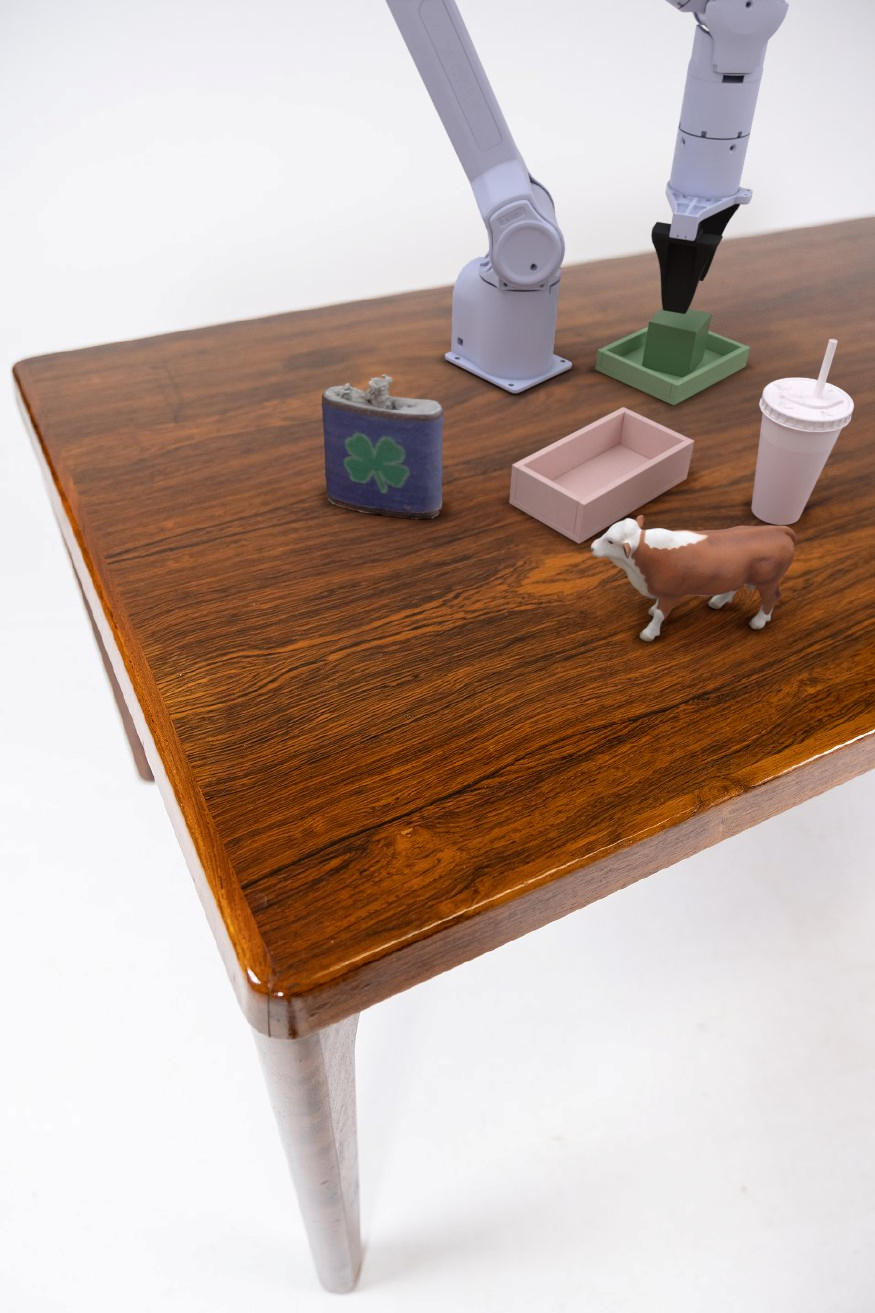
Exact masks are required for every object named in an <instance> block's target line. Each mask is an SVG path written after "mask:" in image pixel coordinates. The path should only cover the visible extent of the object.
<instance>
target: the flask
mask: <svg viewBox="0 0 875 1313" xmlns="http://www.w3.org/2000/svg"><path fill="white" fill-rule="evenodd" d="M393 382H394V379H393V377H392V376H389V375H387V374H386V373H385V374H384V373H383V374H381V377H371V378H370V380H369V381H368V386H369V388H367V389H366V390H362V389H359V388H357V387H355V386H354V387H353V386H351V383H350V382H346V383H345V384H344V385H331V386H329V387H327V388H325V389H324V391H323V392H322V395H321V410H322V411H321V413H322V414H321V415H322V426H323V428H322V429H323V430H322V431H323V446H324V448H323V449H324V476H325V485H326V494H327V501H328V502H330V503H331V504H332V505H336V506H338V507H341V508H346V509H349V510H352V511H358V512H360V513H365V514H372V515H377V514H378V515H383V516H388V517H395V518H404V519H405V518H406V519H414V520H421V519H429V520H430V519H434V518H435V517H437V516H439V514H440V512H441V510H442V507H443V448H444V447H443V427H444V426H443V425H444V418H445V413H444V409H443V406H442V405H441V404H440V402H439V401H438V400H433V399H429V398H428V399H427V398H425V399H424V398H421V399H420V398H409V397H401V396H392V395H390V384H392V383H393Z"/></svg>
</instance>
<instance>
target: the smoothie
mask: <svg viewBox="0 0 875 1313" xmlns="http://www.w3.org/2000/svg"><path fill="white" fill-rule="evenodd" d="M838 342H839V341H838V340H837V339H835V338H831V339H829V340H828V343H827V347H826V350H825V353H824V357H823V361H822V363H821V366H820V371H819V373H818V377H817V379H815V378H809V377H785V378H780V379H776V380H773V381H771V382H769V383H768V384H767V385H766V386H765V387H764V388H763V391H762V394H761V398H760V399H759V403H758V405H759V408H760V412H761V413H762V416H761V422H760V432H759V442H758V447H757V448H758V449H757V456H756V464H755V465H756V466H755V473H754V482H753V484H754V485H753V490H752V500H751V501H752V502H751V507H750V508H751V512H752V514H753V515H754V516H755V517H756V518H757V519H759V520H761V521H763V522H765V523H768V524H770V525H775V526H787V525H792V524H794V523H796V522H798V521H799V520H800V518H801V516H802V514H803V512H804V510H805V508H806V506H807V503H808V501H809V500H810V497H811V495H812V493H813V491H814V488H815V487H816V484H817V482H818V480H819V478H820V477H821V474H822V471H823V469H824V467H825V465H826V463H827V461H828V459H829V457H830V455H831V452H832V450H833V448H834V446H835V445H836V442H837V440H838V438H839V436H840V434H841V431H842V429H843V428H845V427H846V426H848V425H849V424H850V422H851V421H852V414H853V411H854V408H855V404H854V400H853V399H852V397H851V396H850V395H849V394H848V393H847V392H846V391H845V390H844V389H842V388H840V387H838V386H836V385H833V384H832V383H829V382H827V379H828V375H829V373H830V369H831V366H832V363H833V359H834V355H835V352H836V348H837V345H838Z"/></svg>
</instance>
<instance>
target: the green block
mask: <svg viewBox="0 0 875 1313" xmlns="http://www.w3.org/2000/svg"><path fill="white" fill-rule="evenodd" d="M712 317H713V314H712V313H710V312H705V311H701V310H697V309H693V308H688V310H687V312H686V314H681V313H675V312H669V311H664V310H663V308H662V307H661V308H660V309H658V311H657V312H656V313H655V314H654V316H652V317H651V319H649V320H648V324H647V327H648V330H647V336H646V342H645V349H644V355H643V361H642V366H643V367H645V368H648V369H652V370H656V371H660V372H664V373H668V374H672V375H675V376H679V377H685V376H687V375H689V374H691V373H692V372H693V371H694V370H695V368H696V367H697V366H698V365H699V363H700V362H701V361H702V360H703V356H704V351H705V346H706V341H707V336H708V332H709V331H710V326H711V321H712Z"/></svg>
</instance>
